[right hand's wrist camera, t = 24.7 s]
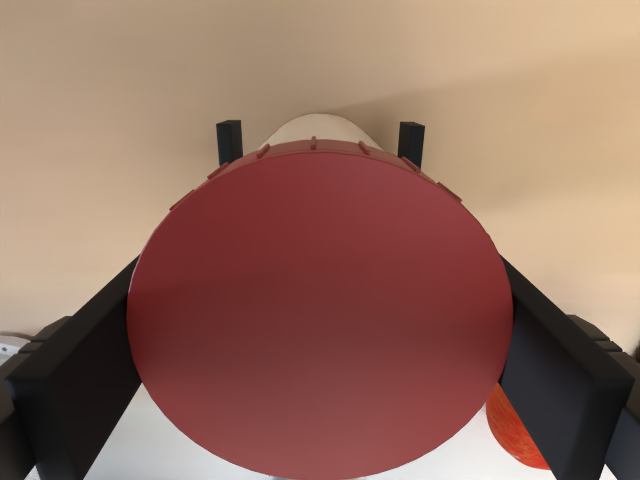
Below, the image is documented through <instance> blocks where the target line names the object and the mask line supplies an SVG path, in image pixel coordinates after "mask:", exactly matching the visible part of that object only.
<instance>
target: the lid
mask: <svg viewBox="0 0 640 480" xmlns="http://www.w3.org/2000/svg"><path fill="white" fill-rule="evenodd" d="M461 201H462V200H461V199H460V198H459V197H458V196H457V195H455V194H454V193H453V192H451V191H450V190H449V189H448V188H446V187H445V186H444V185H442V184H441V183H440V182H438V183H435V182H434V181H433V180H432V179H430V178H429V177H428V176H426V175H425V174H424V173H423V172H421V169H419V168H418V167H417V166H416V165H414V164H413V163H412V162H411V161H409V160H408V159H407V158H405V157H403V156H402V158H401V159H400V158H399V157H397V156H395V155H392V154H390V153H387V152H385V151H382V150H380V149H377V148H374V147H371V146H367V145H366V144H365V143H364V142H363V141H360V140H359V143H354V142H350V141H340V140H331V139H316V136H312V139H311V140H298V141H292V142H286V143H280V144H276V145H273V146H270V144H266V145H265V146H264V147H263V148H262V149H260V150H257V151H254V152H252V153H250V154H248V155H246V156H244V157H242V158H240V159H237V160H235V161H234V162H232V163H231V164H228V162H226V163H224V164H223V165H222V166H221V167H219V168H218V169H217V170H215V171H214V172H213V173H211V174H210V175H209V176H208V180H207V181H205V182H204V183H203V184H202V185H200V186H199V187H198V188H197V189H196V190H194V189H193V190H192V191H191V192H189V193H188V194H187V195H186V196H184V197H183V198H182V199H181V200H179V201H178V202H177V203H176V204H174V205H173V206H172V207H171V208H170V209H169V210H170V212H169V214H168V215H167V216H166V217H165V218H164V220H163V221H162V222H161V223H160V224H159V226H158V227H157V228H156V229H155V230H154V232H153V234H152V235H151V237H150V239H149V240H148V242H147V244H146V245H145V247H144V248H143V250H142V252H141V254H140V257H139V259H138V262H137V264H136V267H135V269H134V272H133V275H132V279H131V283H130V288H129V292H128V298H127V313H126V323H127V333H128V339H129V344H130V348H131V353H132V357H133V362H134V364H135V366H136V369H137V371H138V374H139V376H140V379H141V381H142V383H143V384H144V386H145V388H146V389H147V391H148V393H149V395H150V396H151V398H152V399H153V401H154V402H155V403H156V405H157V406H158V407H159V409H160V410H161V411H162V412H163V414H164V415H165V416H166V417H167V418H168V419H169V420H170V421H171V422H172V423H173V424H174V425H175V426H176V427H177V428H178V429H179V430H180V431H181V432H183V433H184V434H185V435H186V436H188V437H189V438H190V439H191V440H193V441H194V442H195V443H197V444H198V445H200V446H201V447H203V448H204V449H206V450H208V451H209V452H211V453H212V454H214V455H216V456H218V457H220V458H222V459H224V460H226V461H228V462H230V463H233V464H235V465H238V466H241V467H243V468H246V469H249V470H251V471H255V472H259V473H262V474H266V475H270V476H275V477H281V478H287V479H293V480H345V479H354V478H360V477H364V476H369V475H374V474H378V473H381V472H384V471H388V470H391V469H394V468H397V467H400V466H402V465H404V464H407V463H409V462H411V461H414V460H416V459H418V458H420V457H421V456H423V455H425V454H427V453H429V452H430V451H432V450H434V449H436V448H437V447H439V446H440V445H441V444H443V443H444V442H446V441H447V440H448V439H450V438H451V437H453V436H454V435H455V434H456V433H457V432H458V431H459V430H460V429H462V428H463V427H464V426H465V425H466V424H467V423H468V422H469V421H470V420H471V419H472V418H473V416H474V415H475V414H476V413H477V412H478V411H479V410H480V409H481V407H482V406H483V405H484V403H485V402H486V400H487V399H488V397H489V396H490V394H491V393H492V391H493V390H494V388H495V386H496V384H497V382H498V380H499V378H500V376H501V374H502V372H503V369H504V366H505V363H506V360H507V356H508V351H509V346H510V341H511V336H512V332H513V301H512V294H511V287H510V283H509V280H508V276H507V273H506V270H505V266H504V263H503V261H502V259H501V257H500V255H499V253H498V251H497V249H496V247H495V245H494V243H493V241H492V240H491V238H490V236H489V235H488V234H487V233H486V231H485V230H484V228H483V227H482V226H481V224H480V223H479V221H478V220H477V219H476V218H475V217H474V216H473V215H472V214H471V213H470V212H469V211H468V210H467V209H466V208H465V207H464V206H463V205H462V204H461V203H460V202H461Z"/></svg>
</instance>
